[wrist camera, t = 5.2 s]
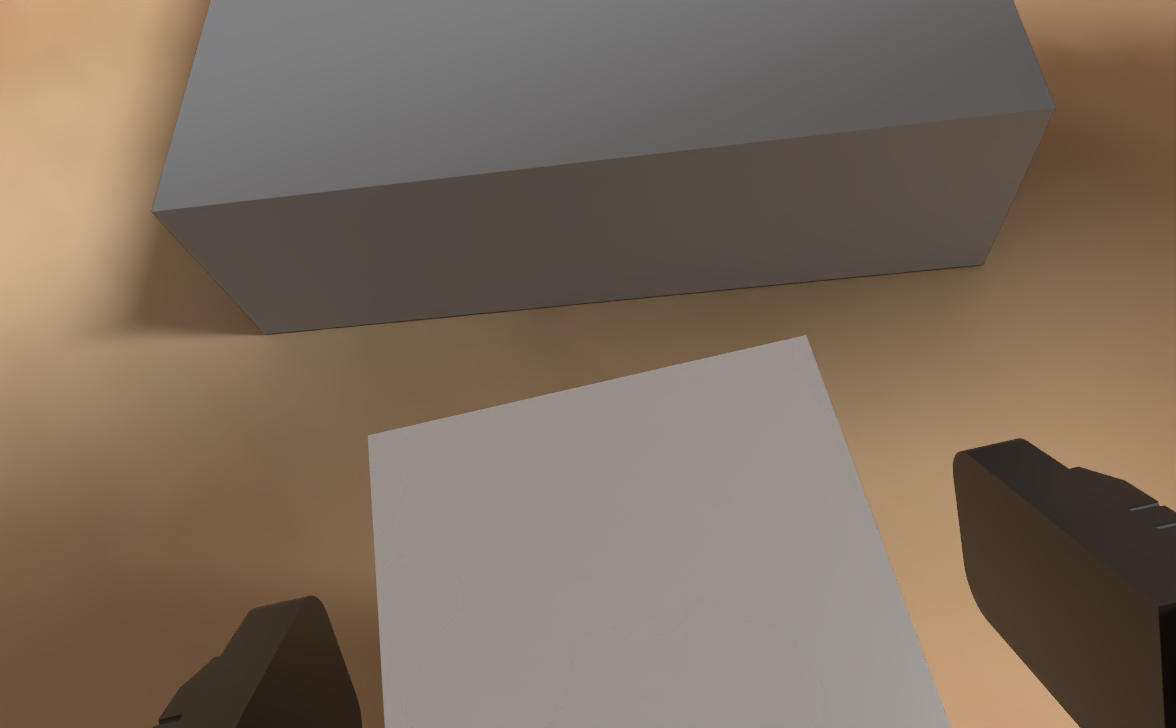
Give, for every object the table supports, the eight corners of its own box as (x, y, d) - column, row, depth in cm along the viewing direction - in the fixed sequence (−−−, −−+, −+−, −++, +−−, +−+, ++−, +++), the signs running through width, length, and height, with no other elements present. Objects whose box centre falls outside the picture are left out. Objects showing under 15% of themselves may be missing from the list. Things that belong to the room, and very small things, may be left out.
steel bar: (758, 616, 15) (805, 335, 7) (819, 836, 14) (995, 850, 5) (568, 658, 15) (367, 435, 7) (604, 881, 14) (398, 973, 5)
